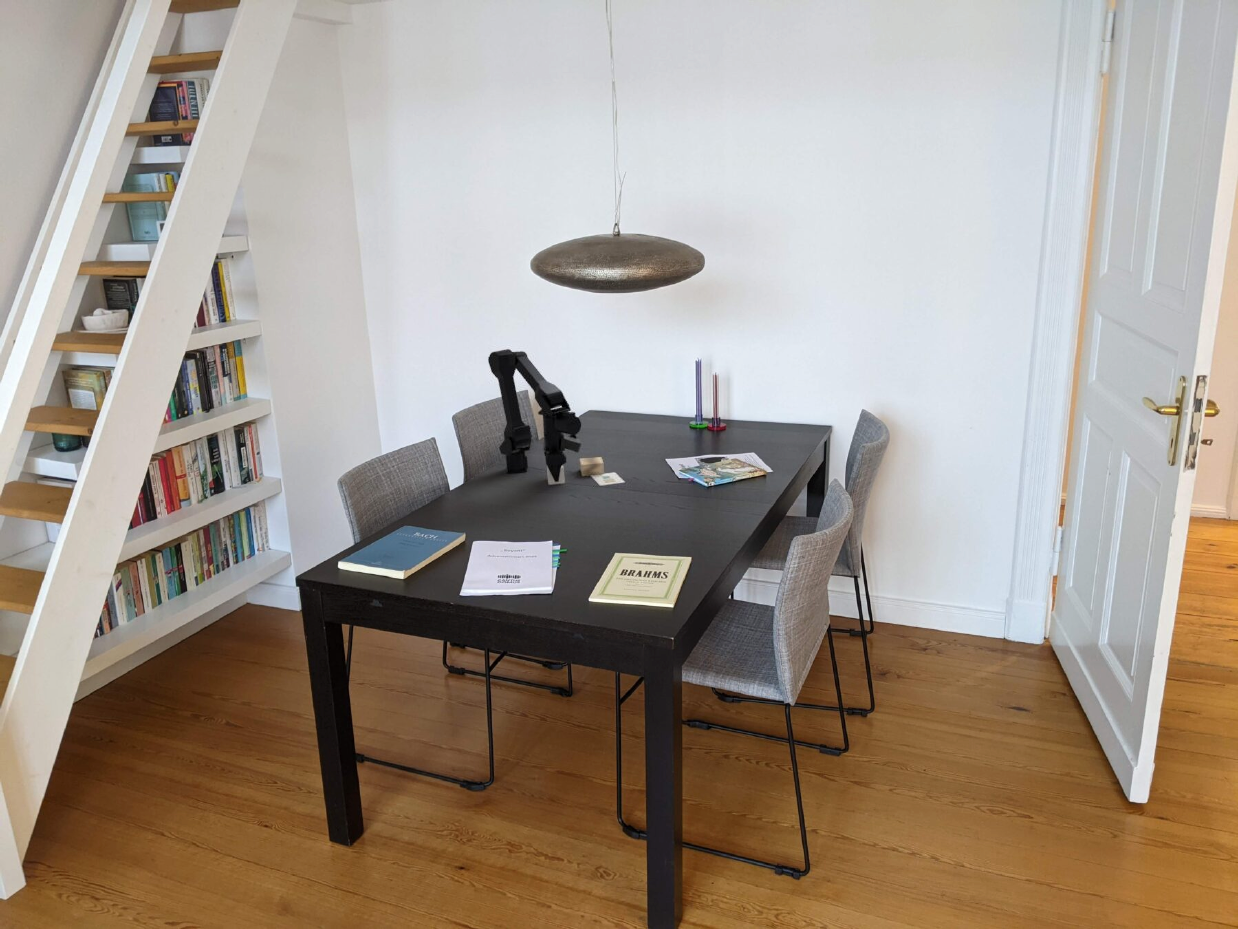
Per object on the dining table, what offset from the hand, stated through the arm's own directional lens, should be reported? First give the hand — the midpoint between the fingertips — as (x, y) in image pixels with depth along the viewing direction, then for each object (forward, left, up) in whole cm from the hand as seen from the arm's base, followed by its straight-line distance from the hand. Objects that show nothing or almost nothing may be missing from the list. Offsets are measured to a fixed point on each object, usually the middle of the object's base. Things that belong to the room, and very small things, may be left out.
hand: (556, 478), depth 296 cm
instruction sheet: (+16, -2, -1) cm, 16 cm away
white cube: (0, 0, -1) cm, 1 cm away
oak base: (+12, +7, -1) cm, 14 cm away
